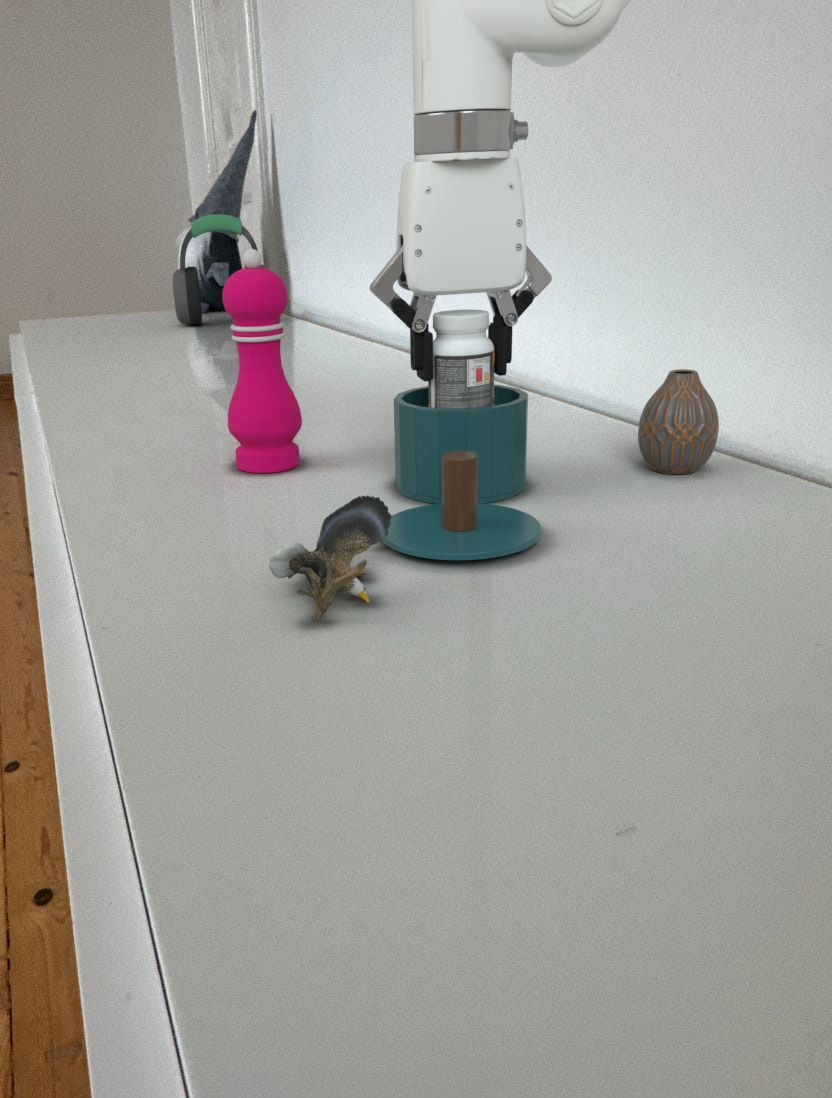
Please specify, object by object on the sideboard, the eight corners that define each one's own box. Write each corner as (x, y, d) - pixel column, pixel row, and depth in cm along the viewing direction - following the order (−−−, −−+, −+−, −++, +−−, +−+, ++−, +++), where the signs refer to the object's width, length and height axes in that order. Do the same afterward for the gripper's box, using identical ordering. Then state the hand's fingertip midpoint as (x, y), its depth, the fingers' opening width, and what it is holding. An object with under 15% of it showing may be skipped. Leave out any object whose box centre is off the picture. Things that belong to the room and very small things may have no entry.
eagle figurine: (404, 609, 62) (417, 536, 69) (335, 524, 59) (356, 457, 66) (310, 660, 65) (331, 585, 72) (239, 581, 62) (269, 512, 70)
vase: (669, 483, 87) (679, 382, 84) (619, 466, 93) (626, 370, 90) (730, 471, 90) (742, 372, 86) (678, 455, 96) (687, 361, 92)
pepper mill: (237, 457, 102) (217, 248, 94) (307, 454, 102) (294, 244, 94) (226, 476, 96) (205, 253, 87) (301, 473, 95) (287, 250, 87)
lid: (510, 509, 83) (512, 430, 80) (564, 558, 72) (569, 468, 69) (366, 523, 81) (363, 443, 78) (399, 576, 70) (397, 485, 67)
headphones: (271, 317, 205) (264, 211, 197) (274, 323, 196) (266, 213, 187) (179, 322, 204) (167, 216, 195) (177, 329, 194) (164, 218, 185)
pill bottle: (507, 430, 87) (510, 311, 83) (456, 442, 84) (456, 319, 80) (464, 420, 91) (465, 306, 87) (415, 430, 88) (413, 313, 84)
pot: (501, 464, 96) (503, 379, 92) (543, 497, 85) (546, 403, 82) (385, 475, 94) (382, 389, 90) (413, 510, 84) (411, 415, 80)
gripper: (550, 138, 82) (541, 361, 90) (345, 146, 80) (354, 375, 88) (585, 133, 76) (572, 376, 83) (362, 143, 73) (371, 391, 81)
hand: (460, 373), depth 85 cm, fingers closed on pill bottle, 5 cm apart
